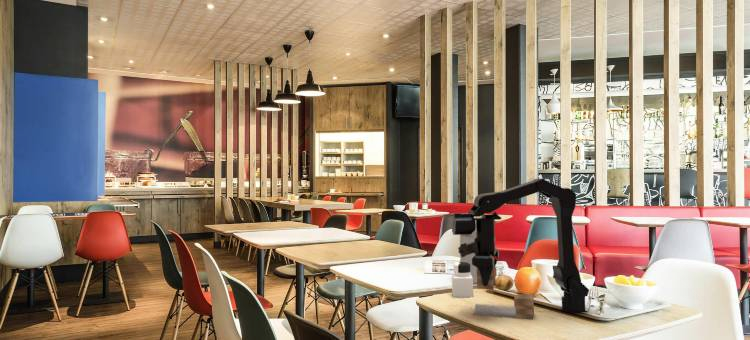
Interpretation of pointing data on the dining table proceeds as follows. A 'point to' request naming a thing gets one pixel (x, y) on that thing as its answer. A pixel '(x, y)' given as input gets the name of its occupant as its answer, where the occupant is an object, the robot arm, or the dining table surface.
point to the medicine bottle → (462, 280)
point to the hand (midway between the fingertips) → (486, 283)
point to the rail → (495, 311)
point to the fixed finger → (524, 306)
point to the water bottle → (469, 257)
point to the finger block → (491, 281)
